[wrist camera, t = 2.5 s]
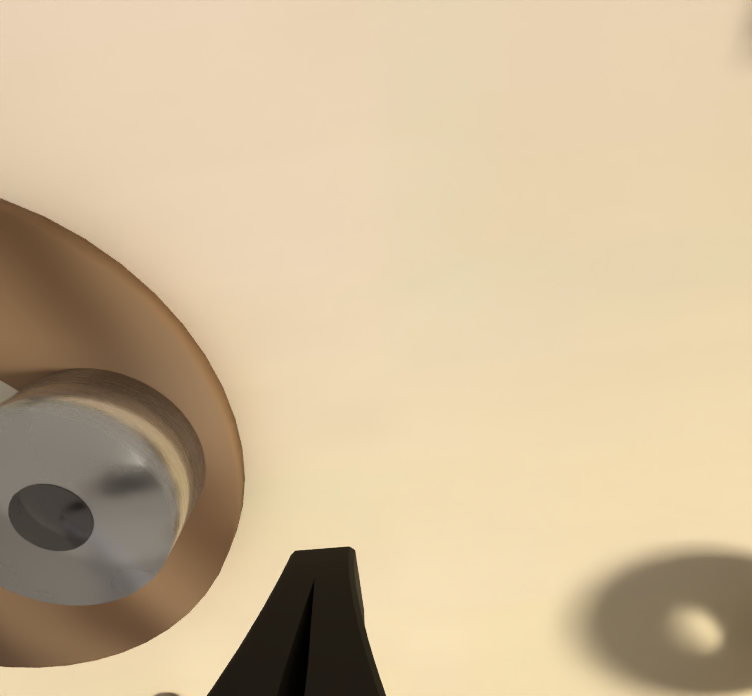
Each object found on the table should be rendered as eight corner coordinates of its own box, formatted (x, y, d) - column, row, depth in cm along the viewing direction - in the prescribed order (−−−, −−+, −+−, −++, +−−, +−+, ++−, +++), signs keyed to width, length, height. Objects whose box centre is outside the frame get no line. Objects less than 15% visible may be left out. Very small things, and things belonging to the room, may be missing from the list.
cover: (119, 566, 18) (73, 639, 16) (-39, 448, 17) (-125, 507, 14) (246, 469, 17) (221, 530, 14) (89, 326, 15) (21, 363, 12)
